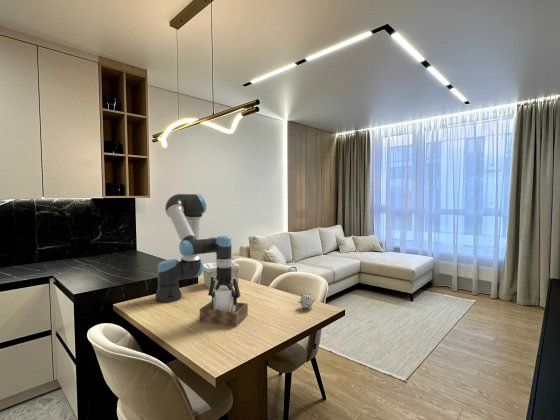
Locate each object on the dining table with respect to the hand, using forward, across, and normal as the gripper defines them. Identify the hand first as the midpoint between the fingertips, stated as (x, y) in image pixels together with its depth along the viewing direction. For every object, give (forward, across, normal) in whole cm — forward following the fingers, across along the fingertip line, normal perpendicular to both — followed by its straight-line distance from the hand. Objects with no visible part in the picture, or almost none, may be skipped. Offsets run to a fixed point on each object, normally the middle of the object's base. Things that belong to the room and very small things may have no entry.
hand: (224, 310), depth 153 cm
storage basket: (+5, -30, +57) cm, 65 cm away
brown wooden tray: (+4, 0, 0) cm, 4 cm away
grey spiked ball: (+5, +38, +25) cm, 46 cm away
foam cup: (+2, 0, 0) cm, 2 cm away
